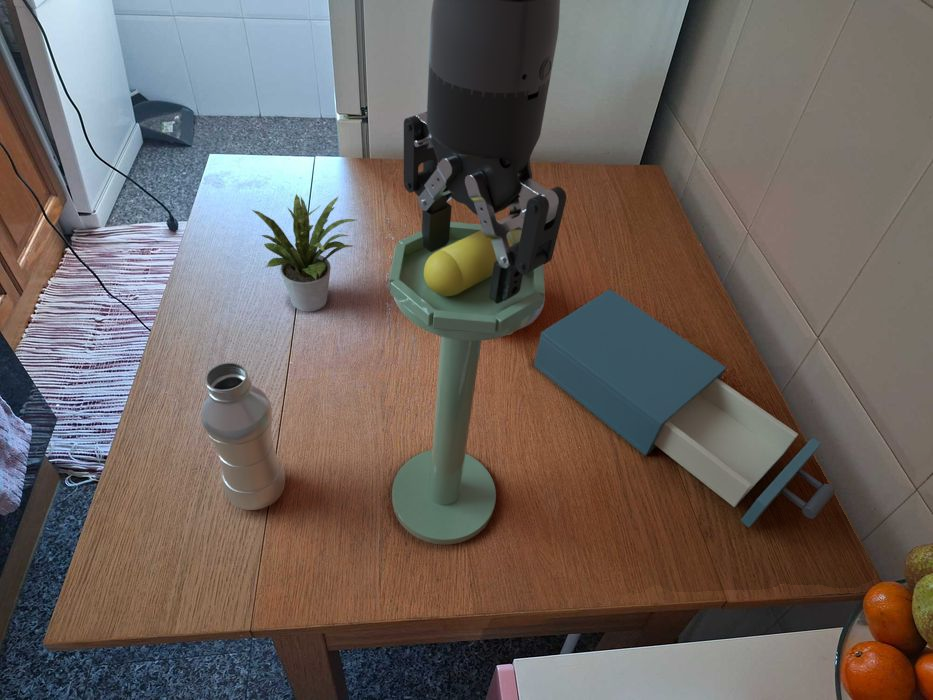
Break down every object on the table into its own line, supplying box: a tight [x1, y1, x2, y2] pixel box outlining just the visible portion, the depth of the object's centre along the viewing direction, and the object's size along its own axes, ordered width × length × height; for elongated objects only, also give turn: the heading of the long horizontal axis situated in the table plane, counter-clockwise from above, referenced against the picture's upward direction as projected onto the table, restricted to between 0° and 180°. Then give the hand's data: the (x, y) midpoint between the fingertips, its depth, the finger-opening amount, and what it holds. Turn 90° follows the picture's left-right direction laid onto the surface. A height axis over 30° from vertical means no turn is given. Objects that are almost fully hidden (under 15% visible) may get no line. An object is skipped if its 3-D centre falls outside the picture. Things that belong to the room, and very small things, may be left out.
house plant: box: [251, 193, 357, 313], centre depth 91 cm, size 14×14×16 cm
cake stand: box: [388, 221, 546, 546], centre depth 63 cm, size 12×12×34 cm
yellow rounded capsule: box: [424, 230, 512, 296], centre depth 50 cm, size 8×4×4 cm, turn 132°
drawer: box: [654, 378, 836, 528], centre depth 80 cm, size 23×14×5 cm, turn 42°
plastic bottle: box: [200, 362, 286, 511], centre depth 67 cm, size 6×7×20 cm
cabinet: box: [533, 288, 727, 457], centre depth 88 cm, size 20×15×7 cm
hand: (468, 271), depth 51 cm, fingers open, 7 cm apart
